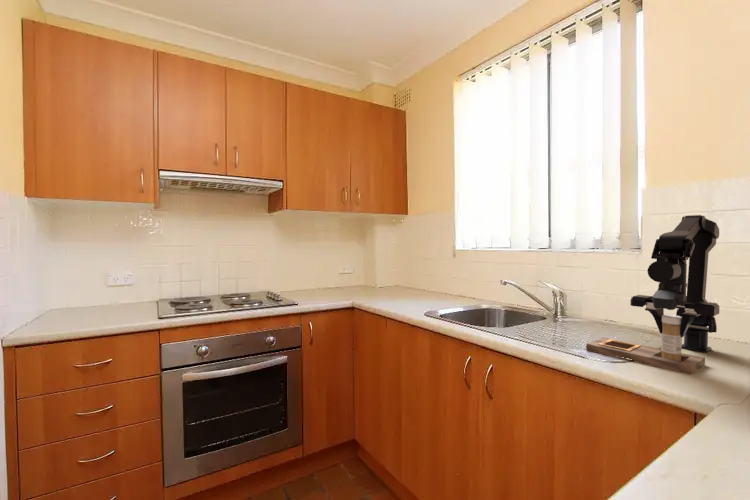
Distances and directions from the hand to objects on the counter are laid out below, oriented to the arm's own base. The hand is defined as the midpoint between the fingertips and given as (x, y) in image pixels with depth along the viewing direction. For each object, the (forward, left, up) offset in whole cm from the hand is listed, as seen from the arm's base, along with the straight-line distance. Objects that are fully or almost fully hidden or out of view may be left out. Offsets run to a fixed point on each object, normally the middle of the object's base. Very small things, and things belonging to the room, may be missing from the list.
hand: (671, 335), depth 104 cm
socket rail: (0, -7, -8) cm, 11 cm away
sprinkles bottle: (0, 0, -8) cm, 8 cm away
